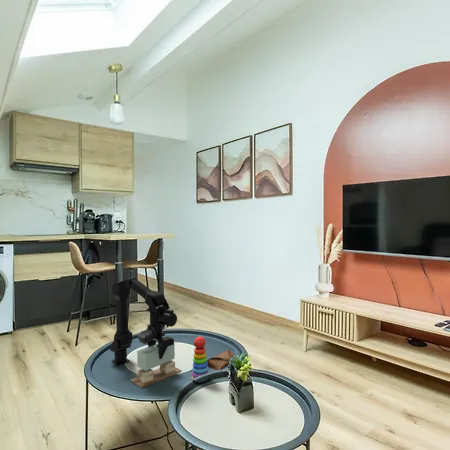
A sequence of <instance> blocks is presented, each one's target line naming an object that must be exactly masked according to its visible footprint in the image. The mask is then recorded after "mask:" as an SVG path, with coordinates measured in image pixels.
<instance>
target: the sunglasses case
mask: <svg viewBox="0 0 450 450" xmlns="http://www.w3.org/2000/svg"><path fill="white" fill-rule="evenodd" d="M233 355H236V354H235V353H234V352H232V351H231V350H230V349H229V348H228V350H226V351H224V352H221V353H219V354H217V355H214V356H212V357H210V358H209V359H208V358H207V362H208V365H207V366H208V369H212V370H215V371H218V370H220V369H221V370H223V369H224V368H226V367H227V366H229V365H230V364H229V360H230V358H231V357H232V356H233ZM228 364H229V365H228ZM221 370H220V371H221Z"/></svg>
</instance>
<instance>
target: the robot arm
mask: <svg viewBox="0 0 450 450" xmlns="http://www.w3.org/2000/svg"><path fill="white" fill-rule="evenodd" d="M111 290H112V296H113V297H114V298H115V300H116V331H115V333H114V335H113V341H112V342H111V344H110V345H109V350H110V352H113V354H114V355H113V356H114V357H113V358H114V359H112V360H111V363H113V364H115V365H117V366H119V365H120V366H121V365H122V364H126V363H128V362H130V359H128V354H127V349H130V348H131V346H132V343H133V341H134V340H133V331H130V330H129V328H128V327H129V326H128V325H129V323H128V322H129V321H128V298H129V296H130V294H131V290H133V291H134V292H135V293H136V294H138V295H139V296H140V297H142V298H143V300H144V303H145V304H146V306H148V308H147V309H146V312H148V313H149V324H147V328H146V329H145V330H142V331H140V332H139V334H137V338H138V341H139V343H141V344H143V345H146V344H147V347H149V346H152V345H155V344H158V345H156V347H158V349H159V359H162V358H163V356H164V353H165V351H166V349H167V347H168V346H171V345H174V344H175V339H174V338H173V337H171V336H165V335H166V333H165V332H164V327H165V326H167V327H174V326H175V325H176V324H177V322H178V316H177V314H176V313H175V311H174V310H173V309H170V304H169V303H168V301H167V300H166V297H165V295H164V293H162V292H160V291H158V290H157V291H156V290H152V289H150V288H149V287H148V286H147V285H146V284H144V283H143V282H141V281H140V280H139V278H137V277H128V278H126V279H124V280H122V281H117V282H114V283H113V284H112V287H111Z"/></svg>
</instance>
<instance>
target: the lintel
mask: <svg viewBox="0 0 450 450" xmlns="http://www.w3.org/2000/svg"><path fill="white" fill-rule="evenodd" d="M156 345H158V343H156V344H155V345H152V346H149V347H148V346H147V347H144V348H142V349H138V350H137V356H136V357H137V365H136V366H137V368H139V369H143V370H145V371H147V370H149V369H154V368H156V367H158V366H159V367H160V365H161V364H163V363H166V362H168V361H170V360H173V361H174V360H175V355H176V354H175V353H176V351H175V349H176V348H175V346H176V345H175V343H174V345H171V346H168V347H167V349H166V351H165V353H164V356H163V358H162V359H159V349H158V347H156Z"/></svg>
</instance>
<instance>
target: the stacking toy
mask: <svg viewBox="0 0 450 450" xmlns="http://www.w3.org/2000/svg"><path fill="white" fill-rule="evenodd" d="M193 345H194V347H195V348H194V349H193V351H194V353H193V359H192V360H193V362H192V371H191V380H192V379H194V378H196V377H198V376H201V375H204V374H207V373H209V374H210V371H209V367H208V366H207V365H208V362H207V360H208V358H207V352H206V350H207V349H206V348H205V346H206V339H205V338H204V337H203V336H197V337H195V338H194V340H193Z"/></svg>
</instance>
